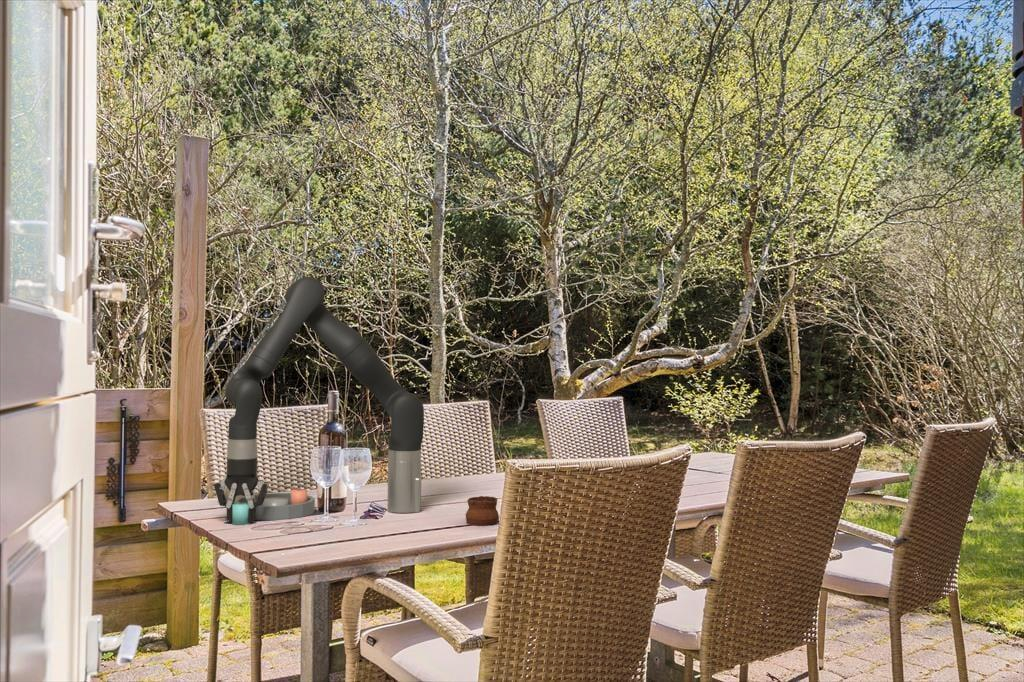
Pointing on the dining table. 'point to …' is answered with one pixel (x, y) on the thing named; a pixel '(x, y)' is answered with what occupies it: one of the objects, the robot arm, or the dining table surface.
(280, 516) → the groove tray
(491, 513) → the ceramic pot
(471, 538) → the dining table surface
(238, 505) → the teal cylinder
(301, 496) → the brick bead
